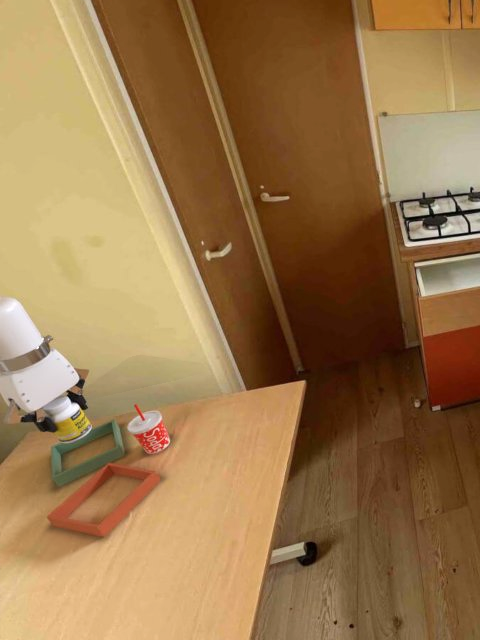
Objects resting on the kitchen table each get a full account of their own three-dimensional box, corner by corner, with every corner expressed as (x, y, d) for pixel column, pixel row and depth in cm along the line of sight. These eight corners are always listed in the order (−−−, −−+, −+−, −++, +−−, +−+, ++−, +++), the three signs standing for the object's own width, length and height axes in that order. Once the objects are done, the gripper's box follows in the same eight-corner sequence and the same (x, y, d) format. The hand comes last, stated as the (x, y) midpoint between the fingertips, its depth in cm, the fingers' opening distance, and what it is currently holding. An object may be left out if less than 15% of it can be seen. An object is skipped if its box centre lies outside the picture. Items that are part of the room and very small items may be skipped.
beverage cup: (140, 462, 97) (114, 420, 90) (145, 443, 102) (120, 401, 95) (173, 451, 100) (150, 409, 93) (176, 432, 104) (154, 391, 98)
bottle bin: (58, 456, 98) (50, 446, 97) (120, 429, 105) (114, 418, 104) (60, 489, 91) (51, 478, 90) (126, 457, 98) (119, 446, 97)
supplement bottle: (88, 438, 94) (66, 407, 89) (56, 447, 91) (32, 416, 87) (96, 420, 98) (76, 390, 93) (66, 429, 96) (43, 398, 91)
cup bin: (55, 527, 84) (46, 517, 82) (115, 472, 95) (108, 462, 93) (106, 539, 82) (97, 528, 81) (162, 481, 93) (155, 471, 91)
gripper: (55, 327, 92) (93, 388, 101) (-50, 384, 77) (5, 450, 86) (83, 331, 91) (119, 392, 99) (-18, 389, 76) (35, 455, 84)
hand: (66, 418), depth 92 cm, fingers closed on supplement bottle, 5 cm apart
